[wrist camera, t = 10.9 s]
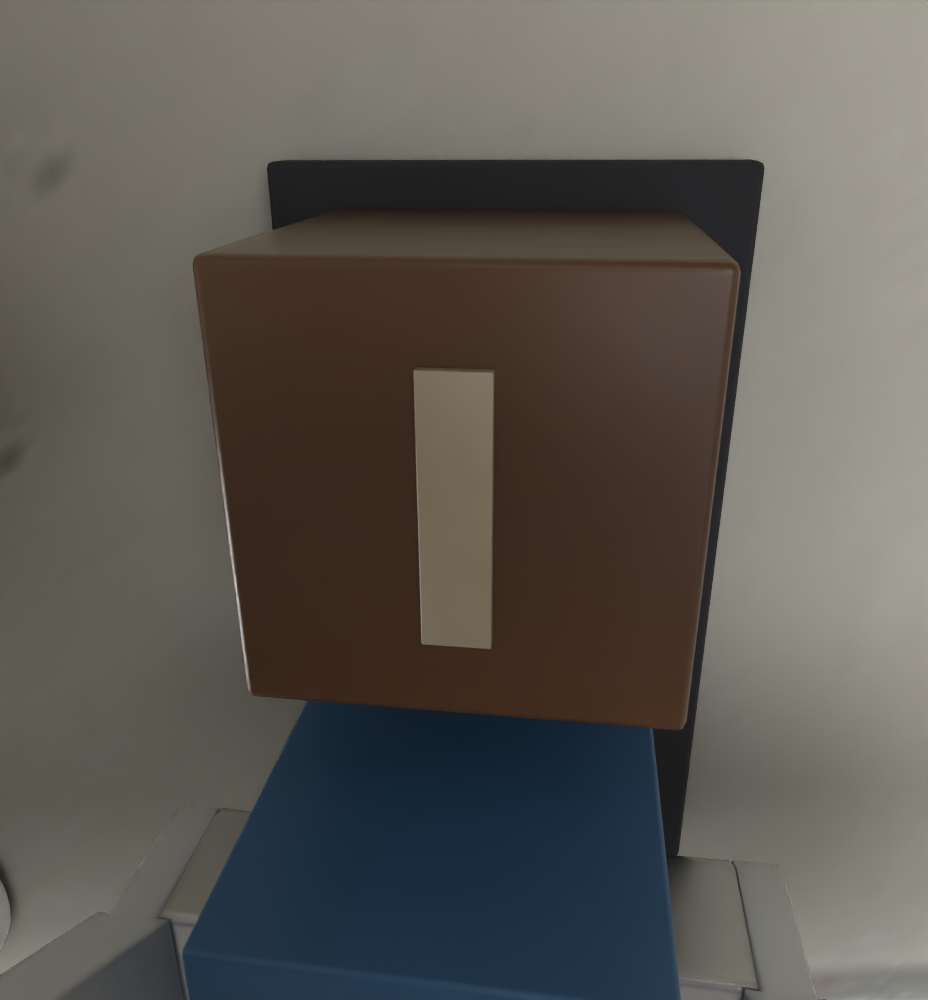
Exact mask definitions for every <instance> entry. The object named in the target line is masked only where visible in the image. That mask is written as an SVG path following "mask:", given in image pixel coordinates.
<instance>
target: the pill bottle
mask: <svg viewBox="0 0 928 1000" xmlns="http://www.w3.org/2000/svg"><path fill="white" fill-rule="evenodd" d="M10 923H11V916H10V904H9V900H8V897H7V894H6V891H5V888H4V886H3V884H2V882H1V880H0V949H1V948H2V946H3V944H4V942H5V940H6V937H7V935H8V931H9V927H10Z"/></svg>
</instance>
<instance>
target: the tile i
mask: <svg viewBox="0 0 928 1000" xmlns="http://www.w3.org/2000/svg"><path fill="white" fill-rule="evenodd" d="M193 271H194V279H195V287H196V294H197V302H198V310H199V318H200V325H201V333H202V341H203V349H204V356H205V364H206V372H207V379H208V387H209V395H210V403H211V410H212V418H213V426H214V434H215V441H216V449H217V457H218V465H219V472H220V480H221V488H222V495H223V503H224V511H225V519H226V526H227V534H228V542H229V550H230V557H231V565H232V573H233V580H234V588H235V596H236V604H237V611H238V619H239V627H240V635H241V642H242V650H243V658H244V665H245V673H246V681H247V689H248V692H249V693H250V694H251V695H253V696H260V697H273V698H285V699H297V700H310V701H322V702H334V703H346V704H359V705H371V706H383V707H396V708H408V709H420V710H432V711H445V712H457V713H469V714H481V715H494V716H506V717H518V718H531V719H543V720H555V721H567V722H580V723H592V724H604V725H617V726H629V727H641V728H653V729H666V730H680V729H683V727H684V725H685V723H686V721H687V713H688V705H689V697H690V688H691V680H692V672H693V663H694V655H695V647H696V639H697V630H698V622H699V614H700V606H701V597H702V589H703V581H704V572H705V564H706V556H707V548H708V539H709V531H710V523H711V515H712V506H713V498H714V490H715V482H716V473H717V465H718V457H719V448H720V440H721V432H722V424H723V415H724V407H725V399H726V391H727V382H728V374H729V366H730V357H731V349H732V341H733V333H734V324H735V316H736V308H737V300H738V291H739V283H740V275H741V272H740V268H739V265H738V263H737V262H736V261H735V260H734V259H733V258H732V257H731V256H730V255H728V254H727V253H726V252H725V251H724V250H723V249H722V248H721V247H720V246H719V245H718V244H717V243H716V242H714V241H713V240H712V239H711V238H710V237H709V236H708V235H707V234H706V233H705V232H704V231H703V230H702V229H700V228H699V227H698V226H697V225H696V224H695V223H694V222H693V221H692V220H691V219H690V218H689V217H688V216H686V215H685V214H684V213H683V212H680V211H654V210H482V209H337V210H334V211H331V212H328V213H325V214H322V215H318V216H315V217H312V218H309V219H306V220H303V221H300V222H297V223H294V224H290V225H287V226H284V227H281V228H278V229H275V230H272V231H269V232H266V233H263V234H259V235H256V236H253V237H250V238H247V239H244V240H241V241H238V242H235V243H232V244H228V245H225V246H222V247H219V248H216V249H213V250H210V251H207V252H204V253H201V254H199V255H197V256H195V258H194V261H193Z"/></svg>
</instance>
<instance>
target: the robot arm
mask: <svg viewBox="0 0 928 1000" xmlns="http://www.w3.org/2000/svg"><path fill="white" fill-rule="evenodd" d="M250 814H251V812H250V811H242V810H234V809H227V808H223V809H220V808H212V807H205V806H197V805H190V804H183V805H182V806H180V807H179V808H178V809H176V810H175V811H174V812H173V813H172V814H171V816H170V818H169V819H168V821H167V822H166V824H165V826H164V827H163V829H162V831H161V832H160V834H159V835H158V837H157V839H156V840H155V842H154V843H153V845H152V847H151V848H150V850H149V851H148V853H147V855H146V856H145V858H144V859H143V861H142V863H141V864H140V866H139V867H138V869H137V871H136V872H135V874H134V875H133V877H132V879H131V880H130V882H129V883H128V885H127V887H126V888H125V890H124V892H123V893H122V895H121V896H120V898H119V900H118V901H117V903H116V904H115V906H114V908H113V909H112V911H111V912H110V913H107V912H97V913H95V914H94V915H92V916H91V917H89V918H88V919H86V920H84V921H83V922H81V923H80V924H78V925H77V926H75V927H74V928H72V929H71V930H69V931H67V932H66V933H64V934H63V935H61V936H60V937H58V938H57V939H55V940H53V941H52V942H50V943H49V944H47V945H46V946H44V947H43V948H41V949H40V950H38V951H36V952H35V953H33V954H32V955H30V956H29V957H27V958H26V959H24V960H23V961H21V962H19V963H18V964H16V965H15V966H13V967H12V968H10V969H9V970H7V971H5V972H4V973H2V974H1V975H0V1000H189V995H188V989H187V984H186V979H185V973H184V968H183V962H182V957H181V954H182V950H183V947H184V945H185V943H186V941H187V939H188V937H189V935H190V933H191V931H192V929H193V927H194V925H195V923H196V921H197V919H198V917H199V915H200V913H201V911H202V909H203V907H204V905H205V903H206V901H207V899H208V897H209V895H210V893H211V891H212V889H213V887H214V885H215V883H216V881H217V879H218V877H219V875H220V873H221V871H222V869H223V867H224V865H225V863H226V861H227V859H228V857H229V855H230V853H231V851H232V849H233V847H234V845H235V843H236V841H237V839H238V837H239V835H240V834H241V832H242V830H243V828H244V826H245V824H246V822H247V820H248V818H249V816H250ZM666 861H667V870H668V880H669V889H670V899H671V908H672V918H673V927H674V937H675V946H676V956H677V965H678V975H679V984H680V994H681V1000H825V999H818V998H817V996H816V993H815V989H814V985H813V981H812V978H811V974H810V970H809V966H808V962H807V959H806V955H805V951H804V947H803V944H802V940H801V936H800V932H799V929H798V925H797V921H796V917H795V914H794V910H793V906H792V902H791V898H790V895H789V891H788V887H787V883H786V880H785V876H784V872H783V871H782V870H781V869H780V867H779V866H778V865H773V864H762V863H751V862H740V861H732V862H730V861H729V860H718V859H707V858H696V857H685V856H675V855H666Z"/></svg>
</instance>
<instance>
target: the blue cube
mask: <svg viewBox="0 0 928 1000" xmlns="http://www.w3.org/2000/svg"><path fill="white" fill-rule="evenodd" d="M181 957H182V962H183V968H184V973H185V979H186V984H187V989H188V995H189V1000H681V994H680V984H679V975H678V965H677V956H676V946H675V937H674V927H673V918H672V908H671V899H670V889H669V880H668V870H667V861H666V851H665V842H664V832H663V823H662V813H661V804H660V794H659V785H658V775H657V766H656V756H655V747H654V737H653V728H641V727H629V726H617V725H604V724H592V723H580V722H567V721H555V720H543V719H531V718H518V717H506V716H494V715H481V714H469V713H457V712H445V711H432V710H420V709H408V708H396V707H383V706H371V705H359V704H346V703H334V702H322V701H310V700H307V702H306V704H305V706H304V708H303V710H302V712H301V714H300V716H299V718H298V720H297V722H296V724H295V726H294V728H293V730H292V732H291V734H290V736H289V738H288V740H287V742H286V744H285V746H284V748H283V750H282V752H281V754H280V756H279V758H278V760H277V762H276V764H275V766H274V768H273V770H272V772H271V774H270V776H269V778H268V780H267V782H266V784H265V786H264V788H263V790H262V792H261V794H260V796H259V798H258V800H257V802H256V804H255V806H254V808H253V810H252V812H251V814H250V816H249V818H248V820H247V822H246V824H245V826H244V828H243V830H242V832H241V834H240V835H239V837H238V839H237V841H236V843H235V845H234V847H233V849H232V851H231V853H230V855H229V857H228V859H227V861H226V863H225V865H224V867H223V869H222V871H221V873H220V875H219V877H218V879H217V881H216V883H215V885H214V887H213V889H212V891H211V893H210V895H209V897H208V899H207V901H206V903H205V905H204V907H203V909H202V911H201V913H200V915H199V917H198V919H197V921H196V923H195V925H194V927H193V929H192V931H191V933H190V935H189V937H188V939H187V941H186V943H185V945H184V947H183V950H182V954H181Z"/></svg>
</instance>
